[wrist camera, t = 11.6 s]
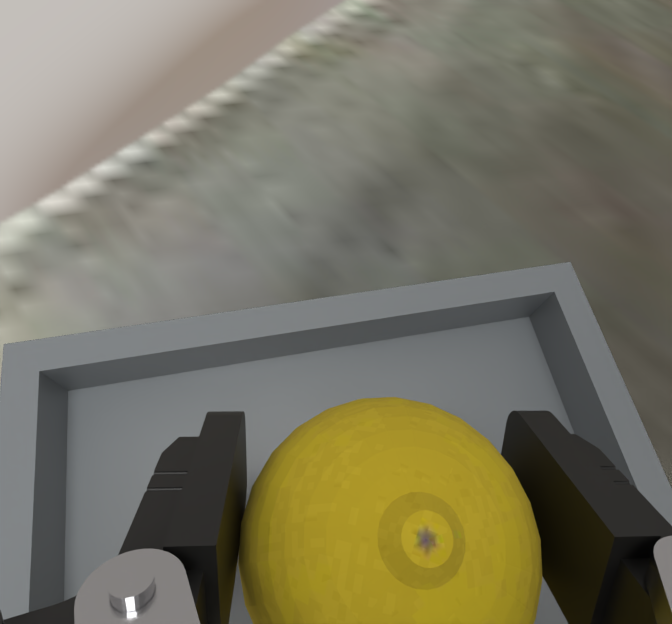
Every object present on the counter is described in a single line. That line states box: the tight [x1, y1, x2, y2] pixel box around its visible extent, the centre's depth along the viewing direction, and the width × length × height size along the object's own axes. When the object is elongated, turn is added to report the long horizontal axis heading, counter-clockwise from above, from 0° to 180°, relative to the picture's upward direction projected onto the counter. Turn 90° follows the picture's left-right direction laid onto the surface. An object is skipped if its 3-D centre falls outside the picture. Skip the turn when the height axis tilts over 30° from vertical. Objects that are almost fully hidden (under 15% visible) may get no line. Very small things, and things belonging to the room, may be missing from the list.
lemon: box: [238, 397, 543, 624], centre depth 10 cm, size 6×6×8 cm
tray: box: [0, 262, 672, 624], centre depth 14 cm, size 18×14×3 cm
